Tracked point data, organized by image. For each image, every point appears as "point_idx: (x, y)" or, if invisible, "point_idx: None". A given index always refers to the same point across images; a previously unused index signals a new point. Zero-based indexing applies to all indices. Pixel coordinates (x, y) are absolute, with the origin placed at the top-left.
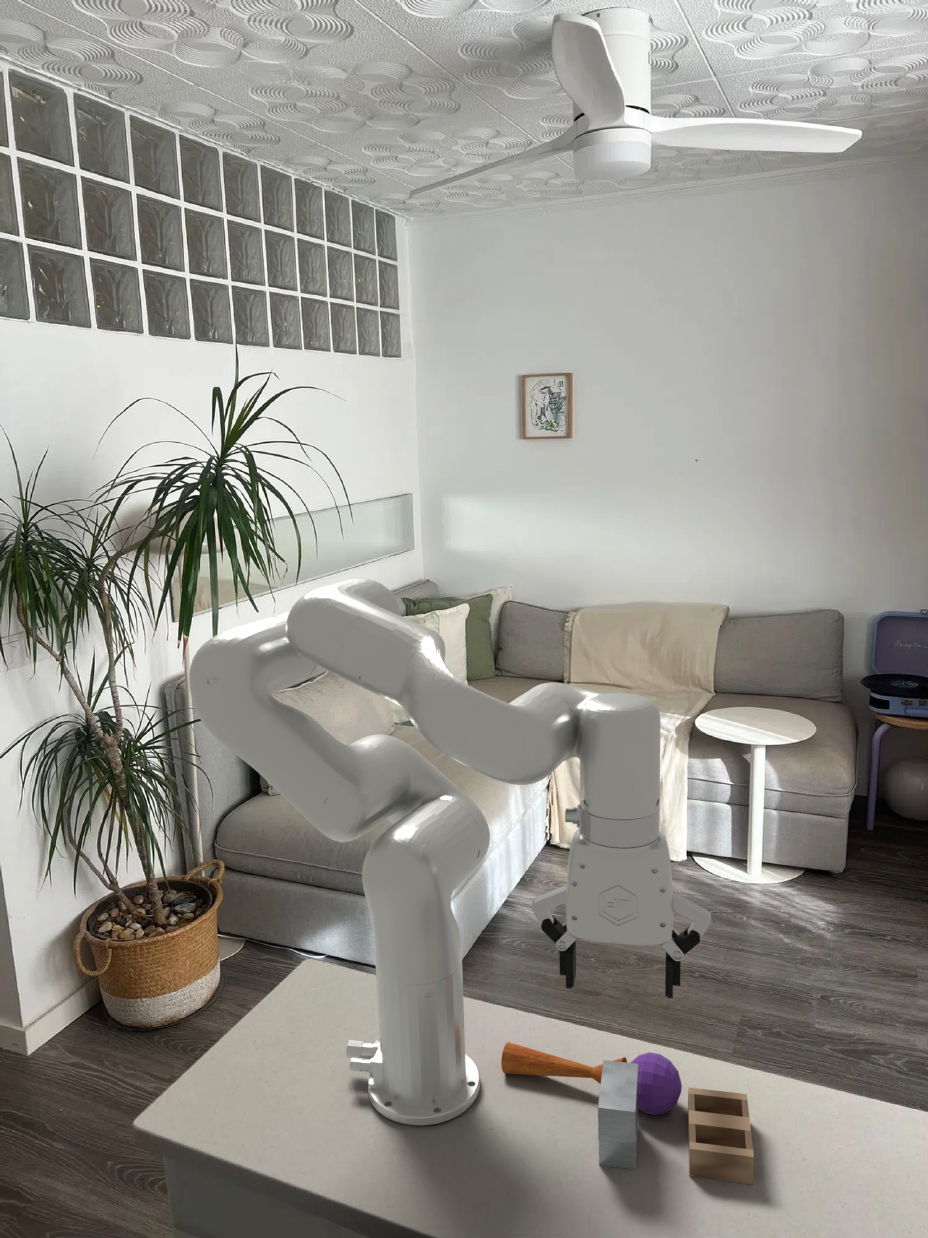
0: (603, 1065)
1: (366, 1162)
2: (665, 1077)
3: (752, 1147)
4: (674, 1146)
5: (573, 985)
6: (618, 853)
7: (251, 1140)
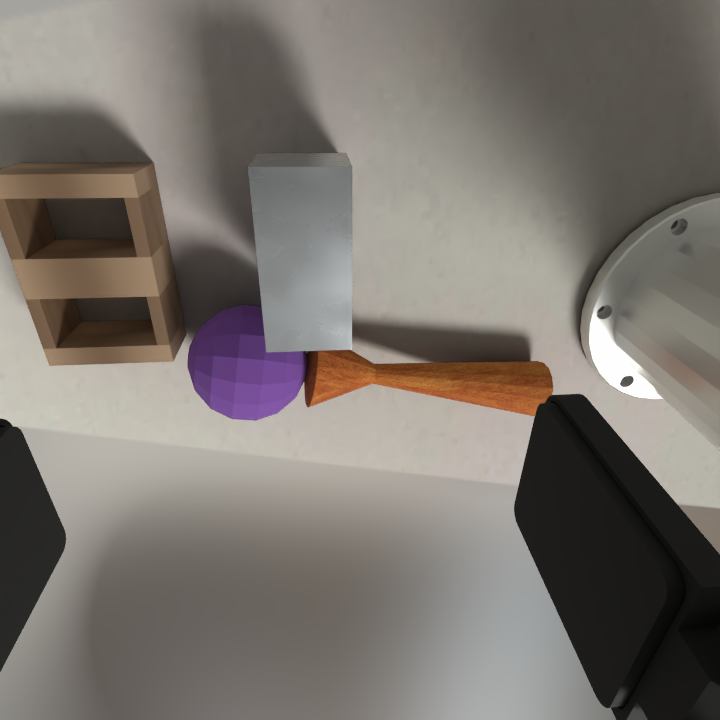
0: (350, 331)
1: None
2: (211, 356)
3: None
4: (197, 241)
5: (539, 417)
6: None
7: None
